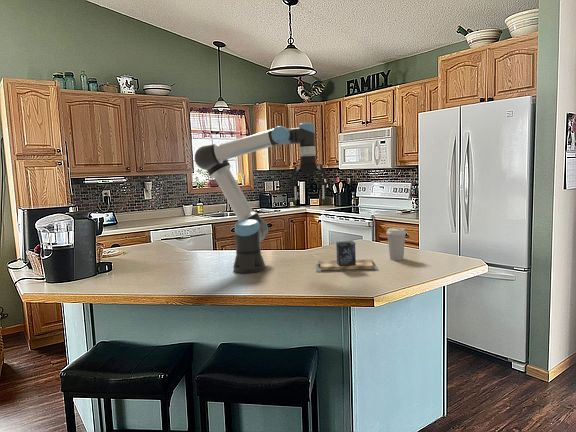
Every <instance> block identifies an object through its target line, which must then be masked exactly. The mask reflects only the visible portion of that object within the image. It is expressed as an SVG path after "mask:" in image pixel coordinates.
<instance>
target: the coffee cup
mask: <svg viewBox="0 0 576 432" xmlns="http://www.w3.org/2000/svg"><path fill="white" fill-rule="evenodd" d="M385 233H386V235H387V243H388V253H389V254H388V255H389V260H391V261H404V259H405V257H404V255H405V245H406V244H405V242H406V241H405V240H406V234H407V232H406V230H405V228H403V227H402V228H401V227H392V228H388V229H387V231H386V232H385Z"/></svg>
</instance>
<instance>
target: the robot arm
mask: <svg viewBox="0 0 576 432" xmlns="http://www.w3.org/2000/svg"><path fill="white" fill-rule="evenodd" d="M296 144H299V154H300V157H299V159H300V166H296V165H295V166H294V168H293V172H292V173H291V174H292V175H291V177H290V179H289V182H288V184H287V185H288V186H290V187H291V191H292V192H291V193H292V194H294V201H297V200H298V199H297V198H298V197H297V186H296V185H297V184H298V182H299V181H300V180H301V178H302V177H303V176H304V175H305V176H308V175H309V176H312V175H314V176H315V177H316V178H317V180H319V181H320V183H322V200H325V193H326V192H327V186H328V185H330V184H331V181H330V180H329V178H328V176H327V174H326V173H325V171H324V167H323V164H321V165H317V158H316V154H317V152H316V131H315V124H314V123H313V122H302V123H299V124H298V127H291V128H290V127H288V128H287V127H285V126H283V125H280V126H279V125H278V126H275V127H274V128H271V129H268V130H265V131H260V132H258V133H255V134H252V135H248V136H245V137H244V136H243V137H241V138H238V139H234V140H230V141H227V142H224V143H221V144H218V143H213V144H209V145H203V146H200V147H198V149H197V150H196V151H195V154H194V161H195V165H197V167H198V168H199V169H202V170H205V171H206V172H207V174H208V176H209V177H210V178H212V179H214V180H215V181H216V183H217V185H218V187H219V188H220V191H221V192H222V194H223V196H224V197H225V198H226V201H227V202H228V204H229V206H230V208H231V209H232V211H233V213H234V215H235V217H236V219H237V220H238V221H237V222H236V223H235V224H234V236H235V238H234V239H235V251H236V252H235V255H236V256H235V259H234V263H233V266H232V267H233V272H234V273H239V274H253V273H254V274H255V273H260V272H263V271H264V270H265V269H266V263H265V261H264V258H263V256H262V252H261V251H262V249H261V242H262V241H264V240H265V239H266V237H267V235H268V232H269V227H268V224H267V222H266V221H265V220H264V219H262V218H261V217H260V214H259V213H258V212H257V211H254V210H253V208H252V206H251V205H250V203H249V201H248V200H247V198H246V196H245V194H244V193H243V191H242V189H241V188H240V186H239V184H238V182H237V181H236V179H235V177H234V175H233V174H232V172H231V164H230V162H229V160H230V159H234V158H237V157H239V156H243V155H248V154H251V153H254V152H258V151H261V150H264V149H268V148H271V147H275V146H279V145H280V146H283V145H296ZM317 169H318V170H319V171H320V172H321V173H322V175H323V177H324V179H325V180H324V179H323V178H322V177H321V176H320V175H319V174H318V173H317ZM299 170H300V171H301V173H300V174H299V175H298V177H297V178H296V179H295V181H294V182H293V180H294V178H295V176H296V174H297V172H298V171H299Z"/></svg>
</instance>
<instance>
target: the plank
mask: <svg viewBox="0 0 576 432" xmlns="http://www.w3.org/2000/svg"><path fill="white" fill-rule="evenodd" d="M320 266H321V270H348V269H374V265H373V264H372V262H365V263H356V265H345V266H339V265H338V264H337V263H332V264H320Z"/></svg>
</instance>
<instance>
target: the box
mask: <svg viewBox="0 0 576 432" xmlns="http://www.w3.org/2000/svg"><path fill="white" fill-rule="evenodd" d="M336 260H337V264H338V265H339V266H345V265H356V260H357V259H356V242H355V241H352V240H349V241H347V240H346V241H336Z"/></svg>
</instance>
